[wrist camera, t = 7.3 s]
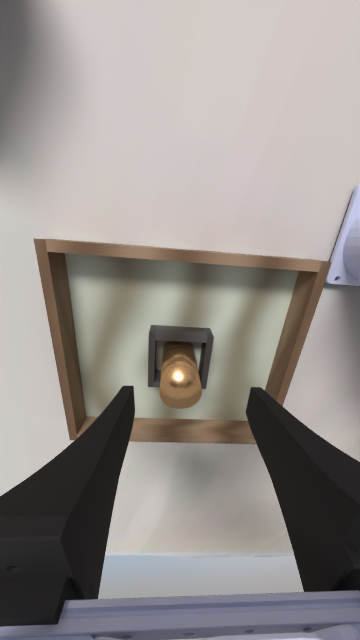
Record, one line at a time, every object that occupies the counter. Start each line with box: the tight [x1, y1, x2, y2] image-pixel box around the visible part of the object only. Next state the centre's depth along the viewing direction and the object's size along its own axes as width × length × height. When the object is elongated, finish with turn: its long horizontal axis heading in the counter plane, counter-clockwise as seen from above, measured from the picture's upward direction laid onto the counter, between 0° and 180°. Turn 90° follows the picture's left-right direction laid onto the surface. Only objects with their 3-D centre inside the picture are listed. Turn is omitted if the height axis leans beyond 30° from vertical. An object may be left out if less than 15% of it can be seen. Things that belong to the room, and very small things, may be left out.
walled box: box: [34, 239, 332, 444], centre depth 20 cm, size 22×20×3 cm
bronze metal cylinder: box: [159, 341, 202, 409], centre depth 18 cm, size 3×3×6 cm
